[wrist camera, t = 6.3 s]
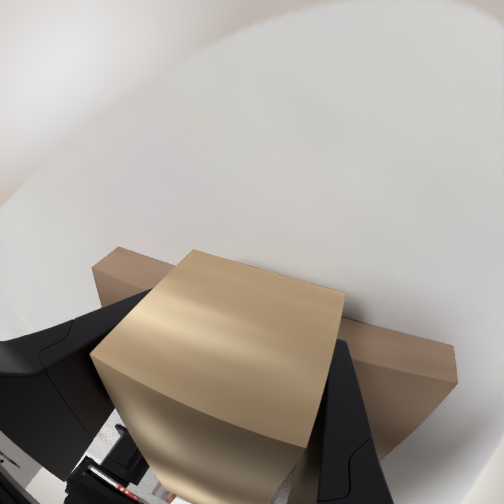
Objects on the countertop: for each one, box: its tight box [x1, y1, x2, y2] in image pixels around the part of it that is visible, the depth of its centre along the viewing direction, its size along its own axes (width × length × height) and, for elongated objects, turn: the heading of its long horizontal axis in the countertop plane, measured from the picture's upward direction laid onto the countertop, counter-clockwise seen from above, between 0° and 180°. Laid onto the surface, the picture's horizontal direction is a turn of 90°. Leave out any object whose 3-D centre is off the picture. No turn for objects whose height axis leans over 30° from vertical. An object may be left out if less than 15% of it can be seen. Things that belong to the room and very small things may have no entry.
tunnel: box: [126, 467, 296, 504], centre depth 16 cm, size 5×10×6 cm, turn 84°
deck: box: [92, 247, 458, 504], centre depth 20 cm, size 29×16×2 cm, turn 174°
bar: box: [90, 250, 346, 504], centre depth 11 cm, size 13×5×5 cm, turn 175°
